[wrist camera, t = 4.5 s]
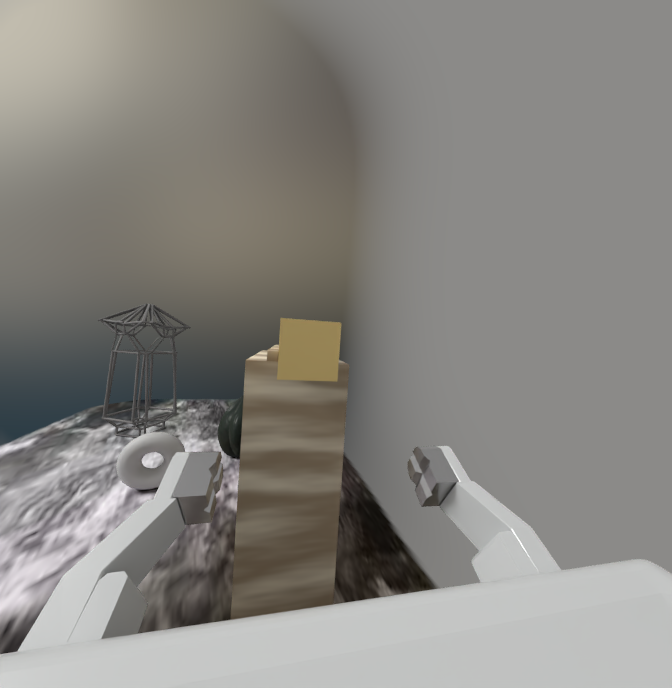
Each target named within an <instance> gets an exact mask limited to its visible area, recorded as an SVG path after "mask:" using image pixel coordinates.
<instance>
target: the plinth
mask: <svg viewBox="0 0 672 688" xmlns="http://www.w3.org/2000/svg"><path fill="white" fill-rule="evenodd" d="M278 356H279V345H274V346H273V347H272V348H270V349H269V350H268V351H264V350H263V351H261V352H259V353H257V354H256V355H254V356H252V357H250V358H249V359H247V360H246V365H245V382H244V399H243V416H242V433H241V450H240V467H239V484H238V501H237V518H236V535H235V552H234V569H233V586H232V603H231V620H233V619H239V618H246V617H253V616H259V615H266V614H273V613H279V612H286V611H293V610H299V609H306V608H313V607H319V606H326V605H333V599H334V584H335V569H336V554H337V539H338V524H339V509H340V494H341V479H342V464H343V450H344V435H345V418H346V403H347V390H348V374H349V365H348V364H346V363H344V362H342V361H340V360H339V364H338V379H337V382H336V381H305V380H277V372H278Z"/></svg>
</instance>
